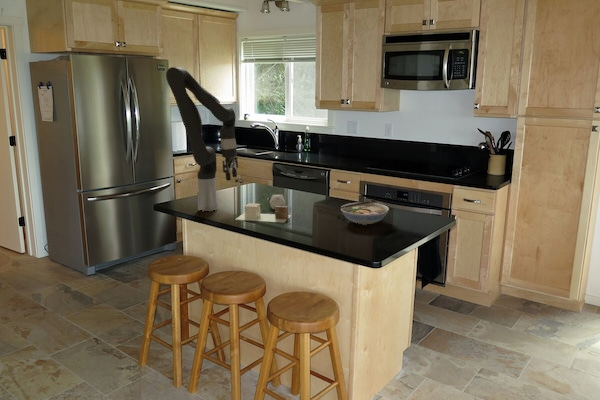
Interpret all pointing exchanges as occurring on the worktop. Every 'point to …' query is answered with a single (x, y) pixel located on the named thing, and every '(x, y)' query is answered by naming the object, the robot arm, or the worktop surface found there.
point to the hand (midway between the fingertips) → (231, 178)
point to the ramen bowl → (364, 212)
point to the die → (277, 201)
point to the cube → (252, 211)
